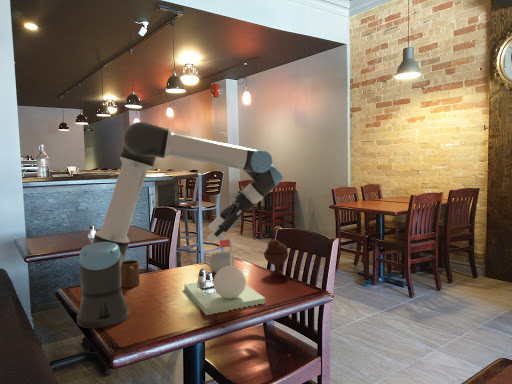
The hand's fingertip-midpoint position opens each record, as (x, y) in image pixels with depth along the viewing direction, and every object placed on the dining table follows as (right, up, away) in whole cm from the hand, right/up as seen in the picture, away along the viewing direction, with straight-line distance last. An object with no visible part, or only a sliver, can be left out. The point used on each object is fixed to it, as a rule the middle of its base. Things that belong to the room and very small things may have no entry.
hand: (209, 234), depth 147 cm
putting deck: (+6, -21, -11) cm, 25 cm away
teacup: (+2, -20, +21) cm, 29 cm away
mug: (-32, -22, +3) cm, 39 cm away
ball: (+9, -14, -19) cm, 25 cm away
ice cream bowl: (+27, -19, +16) cm, 37 cm away
